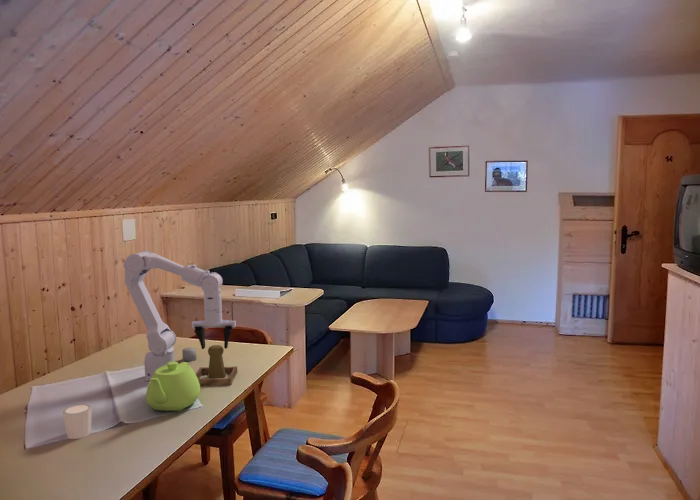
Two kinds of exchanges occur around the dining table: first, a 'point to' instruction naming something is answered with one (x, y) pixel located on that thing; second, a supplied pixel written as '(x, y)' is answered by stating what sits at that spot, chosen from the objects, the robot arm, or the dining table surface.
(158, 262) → the robot arm
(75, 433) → the white cylinder
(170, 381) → the teapot
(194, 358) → the grey rounded piece
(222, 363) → the cork
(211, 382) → the walnut collar block
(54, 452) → the dining table surface
